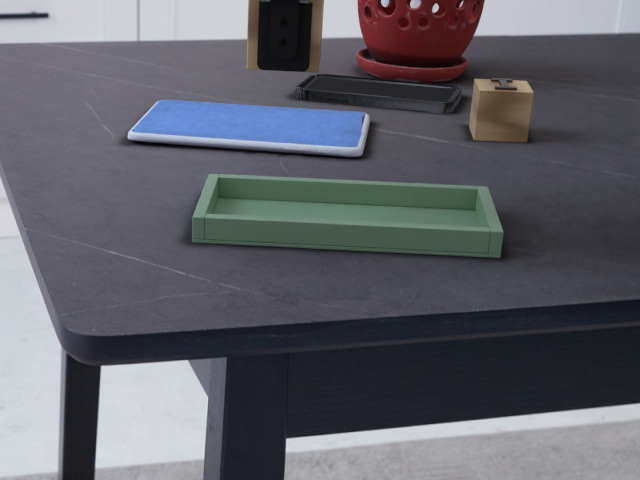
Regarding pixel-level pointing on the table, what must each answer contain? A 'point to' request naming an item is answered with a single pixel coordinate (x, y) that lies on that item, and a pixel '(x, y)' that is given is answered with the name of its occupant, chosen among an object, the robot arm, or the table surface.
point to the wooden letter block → (501, 110)
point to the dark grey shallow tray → (379, 93)
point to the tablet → (254, 128)
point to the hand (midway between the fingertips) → (285, 58)
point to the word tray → (348, 215)
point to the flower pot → (417, 38)
